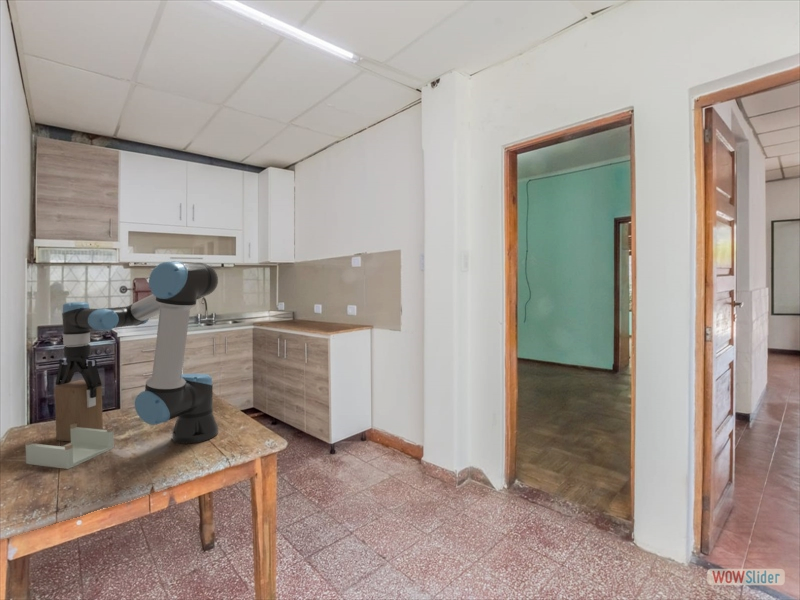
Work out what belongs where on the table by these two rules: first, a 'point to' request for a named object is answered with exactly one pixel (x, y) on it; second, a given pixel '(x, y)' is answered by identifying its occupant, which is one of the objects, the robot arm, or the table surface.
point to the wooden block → (76, 409)
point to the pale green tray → (71, 448)
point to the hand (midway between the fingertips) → (79, 405)
